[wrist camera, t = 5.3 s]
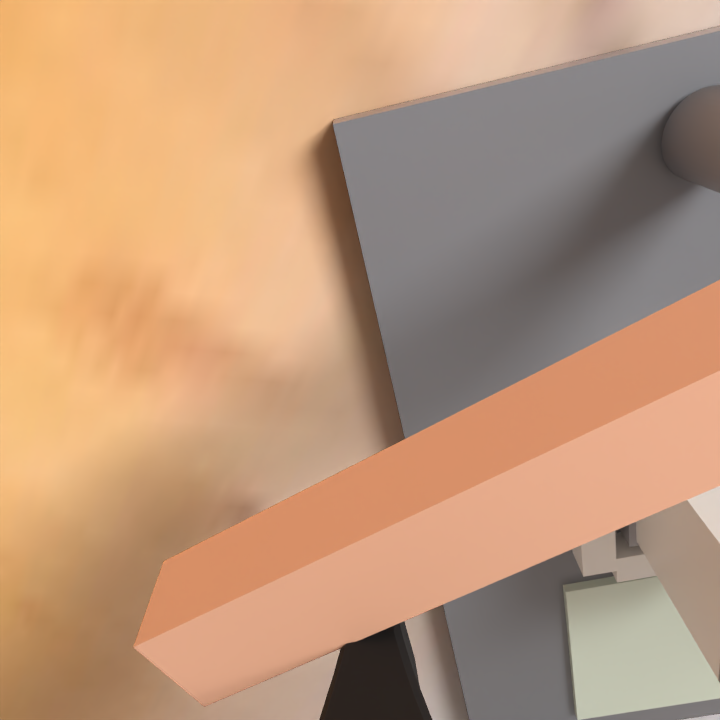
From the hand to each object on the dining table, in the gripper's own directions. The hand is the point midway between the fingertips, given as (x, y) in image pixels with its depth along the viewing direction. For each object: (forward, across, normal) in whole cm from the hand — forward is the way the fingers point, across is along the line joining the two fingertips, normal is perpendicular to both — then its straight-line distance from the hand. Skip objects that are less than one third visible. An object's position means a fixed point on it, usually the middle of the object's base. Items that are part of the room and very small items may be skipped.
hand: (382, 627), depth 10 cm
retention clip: (+7, -3, -3) cm, 8 cm away
